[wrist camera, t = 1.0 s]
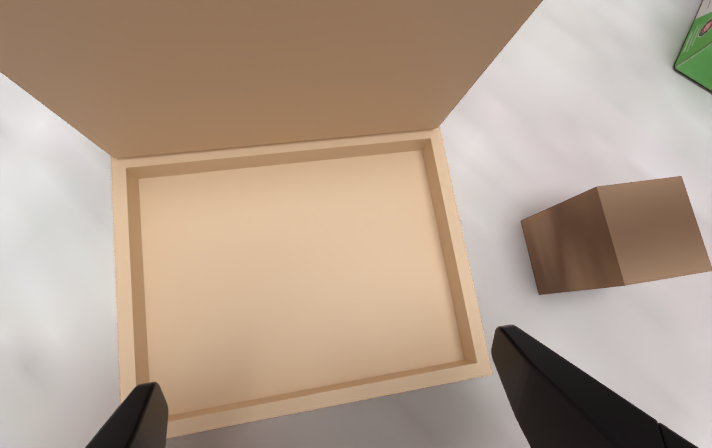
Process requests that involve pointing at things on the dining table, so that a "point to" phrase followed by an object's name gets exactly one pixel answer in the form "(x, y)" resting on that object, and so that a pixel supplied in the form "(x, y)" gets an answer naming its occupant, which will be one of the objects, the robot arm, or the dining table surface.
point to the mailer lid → (250, 66)
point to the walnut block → (616, 237)
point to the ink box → (698, 48)
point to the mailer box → (291, 276)
